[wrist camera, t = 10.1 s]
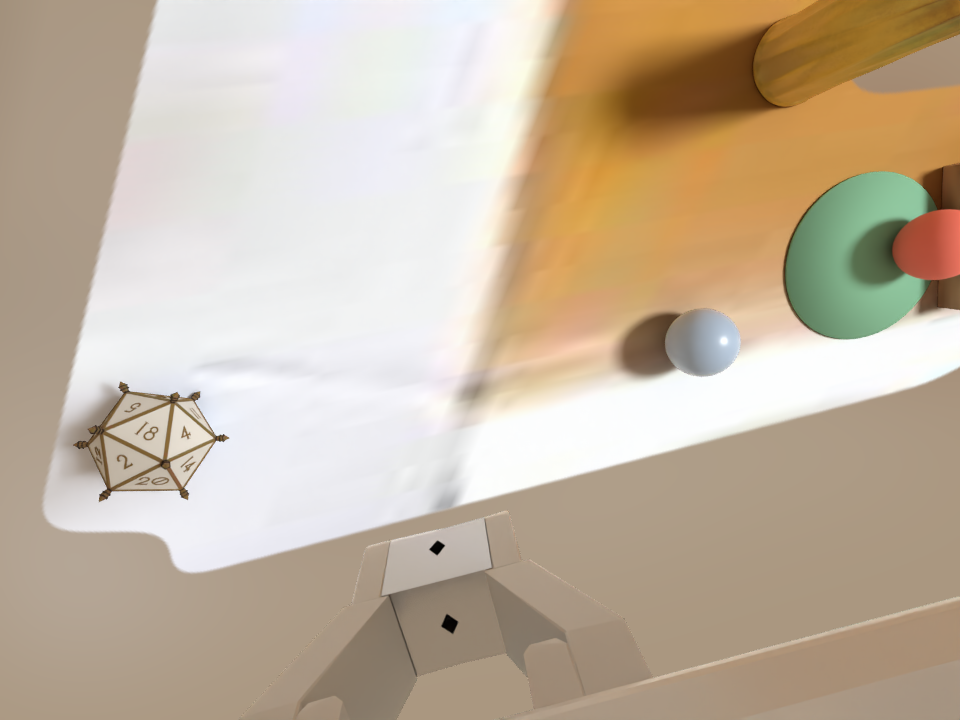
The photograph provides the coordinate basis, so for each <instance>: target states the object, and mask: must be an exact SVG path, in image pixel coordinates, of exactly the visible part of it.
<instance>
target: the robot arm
mask: <svg viewBox="0 0 960 720" xmlns="http://www.w3.org/2000/svg"><path fill="white" fill-rule="evenodd" d="M504 653H507V656H508V657H509V658H510V659H511V660H512V661H513V662H514V663H515V664H516V666H517V667H518V668H519V669H520V670H521V671H522V672H523V673H524V674H525V676H526V677H527V678H528V681H529V686H530V691H531V696H532V702H533V708H534V709H533V710H529V711H525V712H522V713H518V714H514V715H510V716H507V717H503V718H499V719H495V720H960V596H959V597H955V598H951V599H947V600H943V601H939V602H936V603H932V604H928V605H925V606H921V607H917V608H913V609H909V610H906V611H902V612H898V613H894V614H891V615H887V616H883V617H880V618H876V619H872V620H868V621H864V622H861V623H857V624H853V625H849V626H846V627H842V628H838V629H834V630H830V631H827V632H823V633H819V634H815V635H811V636H808V637H804V638H800V639H796V640H793V641H789V642H785V643H782V644H778V645H774V646H770V647H766V648H762V649H759V650H755V651H751V652H748V653H744V654H740V655H737V656H733V657H729V658H726V659H722V660H718V661H715V662H711V663H707V664H704V665H700V666H696V667H692V668H688V669H685V670H681V671H677V672H674V673H670V674H666V675H662V676H658V677H654V678H653V676H652V674H651V672H650V670H649V668H648V666H647V664H646V662H645V660H644V658H643V656H642V654H641V652H640V650H639V648H638V646H637V643H636V641H635V640H634V638H633V635H632V633H631V631H630V629H629V627H628V625H627V623H626V621H625V619H624V618H623V617H621V616H619V615H618V614H616V613H615V612H613V611H611V610H610V609H608V608H607V607H605V606H603V605H602V604H600V603H598V602H597V601H595V600H594V599H592V598H591V597H589V596H587V595H586V594H584V593H582V592H581V591H579V590H578V589H576V588H574V587H573V586H571V585H570V584H568V583H566V582H565V581H563V580H562V579H560V578H558V577H557V576H555V575H554V574H552V573H550V572H549V571H547V570H546V569H544V568H542V567H541V566H539V565H538V564H536V563H534V562H533V561H531V560H529V559H528V560H524V561H522V559H521V555H520V551H519V547H518V544H517V540H516V536H515V532H514V528H513V524H512V520H511V517H510V513H509V511H503V512H500V513H496V514H493V515H489V516H486V517H485V518H480V519H476V520H473V521H469V522H466V523H462V524H458V525H455V526H451V527H448V528H444V529H440V530H439V529H437V530H433V531H429V532H424V533H420V534H416V535H411V536H407V537H403V538H399V539H394V540H392V541H390V540H389V541H386V542H382V543H378V544H374V545H370V546H368V547H367V548H366V549H365V551H364V555H363V559H362V563H361V567H360V571H359V576H358V580H357V584H356V588H355V592H354V596H353V600H352V604H351V605H349V606H345V607H343V608H342V609H341V610H340V612H339V613H338V614H337V615H336V616H335V617H334V618H333V619H332V620H331V621H330V622H329V623H328V624H327V625H326V626H325V627H324V628H323V630H322V631H321V632H320V633H319V634H318V635H317V636H316V637H315V638H314V639H313V640H312V641H311V642H310V643H309V644H308V645H307V647H306V648H305V649H304V650H303V651H302V652H301V653H300V654H299V655H298V656H297V657H296V658H295V659H294V661H292V662H291V664H290V665H289V666H288V667H287V668H286V669H285V670H284V671H283V672H282V673H281V674H280V675H279V676H278V677H277V679H276V680H275V681H274V682H273V683H272V684H271V685H270V686H269V687H268V688H267V689H266V690H265V691H264V692H263V693H262V694H261V696H260V697H259V698H258V699H257V700H256V701H255V702H254V703H253V704H252V705H251V706H250V707H249V708H248V709H247V710H246V711H245V713H244V714H243V715H242V716H241V717H240V718H239V720H396V719H397V718H398V716H399V714H400V712H401V710H402V708H403V706H404V704H405V702H406V700H407V698H408V696H409V695H410V692H411V691H412V689H413V687H414V685H415V683H416V681H417V676H421V675H424V674H427V673H431V672H434V671H437V670H441V669H444V668H448V667H451V666H454V665H458V664H461V663H465V662H470V661H475V660H479V659H483V658H487V657H492V656H496V655H500V654H504Z"/></svg>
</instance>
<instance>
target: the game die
mask: <svg viewBox="0 0 960 720" xmlns="http://www.w3.org/2000/svg"><path fill="white" fill-rule="evenodd" d="M118 388H120V391H122V392H123V393H124V394H123V395H122V397H121V398H120V400H119V401H118V402H117V404H116V405H115V406H114V408H113V409H112V410H111V412H110V413H109V414H108V416H107V417H106V418H105V420H104V421H103V423H102V424H101V425H100V427H99V426H98V427H97V426H96V425H95V426H93V427H91V428H89V429H88V430H89V431H90V433H91V434H94V435H93V436H92V437H91V439H90V440H89V441H88V442H86V441H79V442H78V443H76V444H74V446H76V447H78V448H79V449H80V448H83V449H84V448H85V447H88V448H89V450H90V452H91V455H92V457H93V459H94V461H95V463H96V465H97V467H98V470H99V472H100V474H101V476H102V478H103V480H104V482H105V485H106V487H107V490H105V491H102V493H101V494H99V495H100V497H99V502H100V501H102V500H104V499H108V498H107V497H108V496H110V493H111V492H112V491H174V490H179V491H180V495H181V498H184V499H187V500H188V495H189V493H188V492H187V491H188V490H185V488H184V487H185V486H186V485H187V483H188V482H189V480H190V479H191V477H192V476H193V474H194V473H195V471H196V470H197V468H198V467H199V465H200V464H201V462H202V461H203V459H204V458H205V456H206V455H207V453H208V452H209V451H210V449H211V448H212V446H213V445H214V443H215V442H216V441H219V442H220V441H223V442H224V441H225V440H227V439H229V437H227V436H225V435H224V434H223V435H219V436H216V435H215V434H214V432H213V430H212V429H211V427H210V426H209V424H208V422H207V421H206V419H205V417H204V416H203V414H202V413H201V411H200V409H199V408H198V406H197V404H196V403H195V400H198V398H200V392H197V393H194V395H192V396H191V399H190V398H182V397H180V395H179V394H178V393H177V392H176V393H174V394H171V396H164V395H156V394H147V393H138V392H130V391H129V390H128V388H129V387H128V386H127V384H125V383H122V382H120V385H119V387H118Z"/></svg>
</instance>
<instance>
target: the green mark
mask: <svg viewBox="0 0 960 720" xmlns="http://www.w3.org/2000/svg"><path fill="white" fill-rule="evenodd" d="M936 210H937V207H936V205H935V203H934V201H933V199H932V198H931V196H930V195H929V194H928V192H927V191H926V190H925V189H924V188H923V187H922V186H921V185H920V184H918V183H917V182H916V181H914V180H913V179H911V178H909V177H906V176H904V175H901V174H897V173H894V172H871V173H865V174H860V175H857V176H855V177H852V178H849V179H847V180H845V181H843V182H841V183H839V184H838V185H836V186H834V187H833V188H831V189H830V190H829V191H827V192H826V193H825V194H824V195H823V196H821V197H820V198H819V199H818V200H817V201H816V202H815V203H814V204H813V205H812V207H811V208H810V209H809V210H808V212H807V213H806V214H805V216H804V217H803V219H802V220H801V222H800V224H799V225H798V227H797V229H796V231H795V233H794V236H793V238H792V241H791V244H790V247H789V250H788V255H787V259H786V268H785V280H786V287H787V292H788V296H789V299H790V302H791V304H792V306H793V308H794V310H795V312H796V313H797V315H798V316H799V317H800V319H801V320H802V321H803V322H804V323H805V324H806V325H808V326H809V327H810V328H811V329H813V330H815V331H816V332H818V333H820V334H823V335H826V336H829V337H833V338H838V339H856V338H862V337H866V336H870V335H873V334H875V333H878V332H880V331H882V330H884V329H886V328H888V327H890V326H891V325H893V324H894V323H896V322H897V321H898V320H900V319H901V318H902V317H904V316H905V315H906V314H907V313H908V312H909V311H910V310H911V309H912V308H913V307H914V306H915V304H916V303H917V302H918V301H919V300H920V298H921V297H922V296H923V294H924V293H925V291H926V290H927V288H928V286H929V284H930V282H931V281H932V280H925V279H919V278H915V277H913V276H910V275H908V274H906V273H905V272H903V271H902V270H901V269H900V268H899V267H898V266H897V264H896V263H895V261H894V258H893V254H892V247H893V243H894V240H895V238H896V236H897V234H898V233H899V232H900V230H901V229H902V228H903V227H904V226H905V225H906V224H907V223H909V222H910V221H912V220H913V219H915V218H917V217H918V216H921V215H923V214H926V213H929V212H932V211H936Z"/></svg>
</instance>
